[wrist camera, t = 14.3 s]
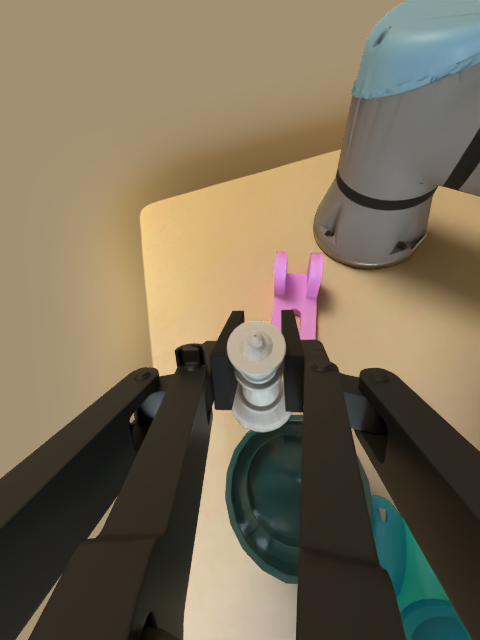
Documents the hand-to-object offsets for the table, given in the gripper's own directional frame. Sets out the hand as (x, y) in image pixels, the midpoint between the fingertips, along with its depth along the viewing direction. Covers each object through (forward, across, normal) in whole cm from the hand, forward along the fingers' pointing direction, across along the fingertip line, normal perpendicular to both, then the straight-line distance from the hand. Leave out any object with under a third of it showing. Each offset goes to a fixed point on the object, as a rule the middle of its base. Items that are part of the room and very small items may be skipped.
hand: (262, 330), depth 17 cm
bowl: (+5, +2, -19) cm, 19 cm away
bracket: (+18, +3, -5) cm, 19 cm away
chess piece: (0, 0, -5) cm, 5 cm away
